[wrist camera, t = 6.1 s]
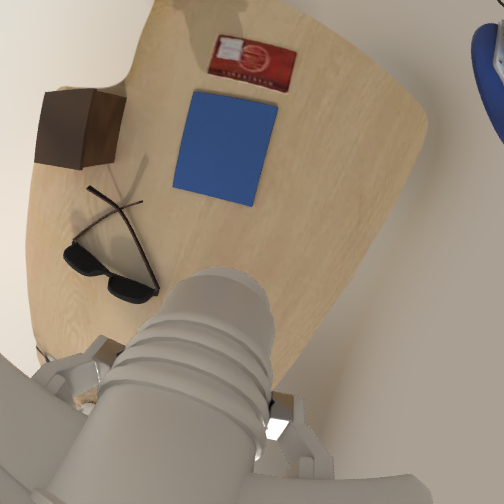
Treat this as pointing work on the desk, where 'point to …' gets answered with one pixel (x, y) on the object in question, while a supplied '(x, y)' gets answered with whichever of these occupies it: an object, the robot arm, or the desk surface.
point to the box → (78, 128)
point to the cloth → (224, 147)
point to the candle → (179, 402)
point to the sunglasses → (92, 267)
